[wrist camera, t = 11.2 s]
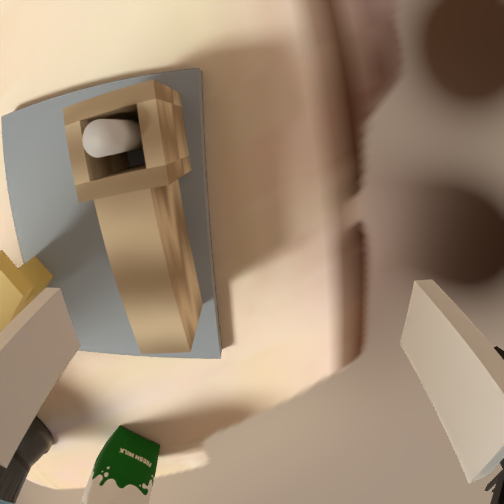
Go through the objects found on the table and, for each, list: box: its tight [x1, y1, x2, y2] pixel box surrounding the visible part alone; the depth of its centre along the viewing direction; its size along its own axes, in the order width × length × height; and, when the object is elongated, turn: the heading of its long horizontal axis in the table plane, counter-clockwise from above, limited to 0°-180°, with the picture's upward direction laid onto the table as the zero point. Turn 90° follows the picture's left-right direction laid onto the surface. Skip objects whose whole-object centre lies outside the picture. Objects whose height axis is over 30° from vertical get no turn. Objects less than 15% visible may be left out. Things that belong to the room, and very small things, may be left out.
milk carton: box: [81, 426, 160, 504], centre depth 31 cm, size 9×9×20 cm
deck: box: [0, 68, 222, 359], centre depth 23 cm, size 21×27×11 cm
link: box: [63, 80, 203, 354], centre depth 22 cm, size 18×6×7 cm, turn 7°
